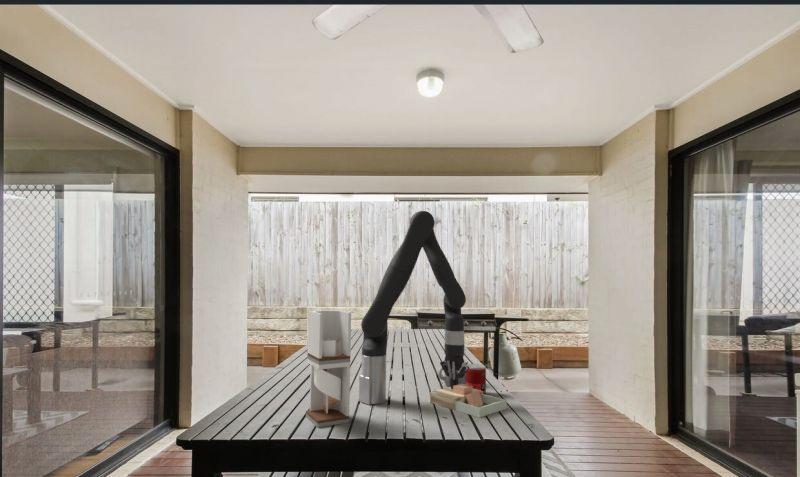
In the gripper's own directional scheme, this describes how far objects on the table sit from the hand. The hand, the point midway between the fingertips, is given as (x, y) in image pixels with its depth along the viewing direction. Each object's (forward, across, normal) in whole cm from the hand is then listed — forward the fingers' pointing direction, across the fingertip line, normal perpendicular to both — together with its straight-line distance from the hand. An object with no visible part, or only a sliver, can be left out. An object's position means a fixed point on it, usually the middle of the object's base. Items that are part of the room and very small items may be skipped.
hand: (454, 388), depth 175 cm
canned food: (+5, -1, +15) cm, 16 cm away
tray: (+5, +12, 0) cm, 13 cm away
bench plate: (+5, +1, 0) cm, 5 cm away
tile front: (+2, +8, 0) cm, 9 cm away
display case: (+5, -13, -48) cm, 50 cm away
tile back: (+1, +4, 0) cm, 4 cm away
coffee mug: (+5, -17, +19) cm, 26 cm away
